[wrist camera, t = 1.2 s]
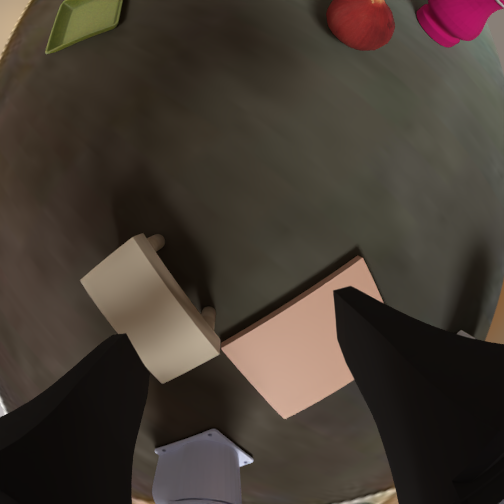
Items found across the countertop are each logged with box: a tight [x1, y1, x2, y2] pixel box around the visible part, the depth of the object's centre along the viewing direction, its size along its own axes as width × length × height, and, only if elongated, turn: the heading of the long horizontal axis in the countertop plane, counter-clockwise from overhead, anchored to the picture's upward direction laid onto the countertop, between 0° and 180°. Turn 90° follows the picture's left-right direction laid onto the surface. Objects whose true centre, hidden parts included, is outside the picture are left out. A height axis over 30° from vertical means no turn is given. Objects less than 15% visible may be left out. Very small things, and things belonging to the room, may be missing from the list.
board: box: [221, 255, 383, 419], centre depth 23 cm, size 14×11×1 cm
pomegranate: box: [326, 0, 395, 50], centre depth 15 cm, size 6×6×8 cm
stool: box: [80, 233, 220, 384], centre depth 19 cm, size 9×5×6 cm, turn 33°
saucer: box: [45, 0, 123, 54], centre depth 15 cm, size 9×9×2 cm
